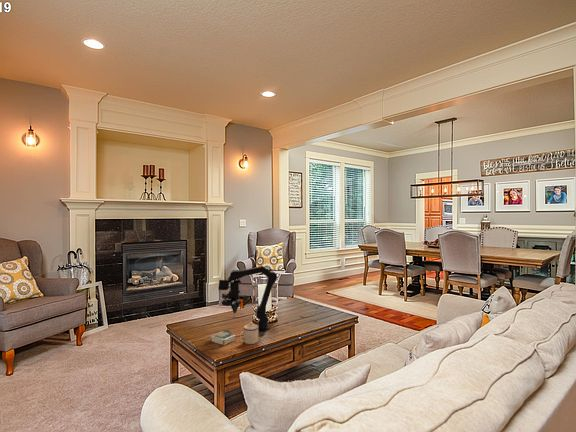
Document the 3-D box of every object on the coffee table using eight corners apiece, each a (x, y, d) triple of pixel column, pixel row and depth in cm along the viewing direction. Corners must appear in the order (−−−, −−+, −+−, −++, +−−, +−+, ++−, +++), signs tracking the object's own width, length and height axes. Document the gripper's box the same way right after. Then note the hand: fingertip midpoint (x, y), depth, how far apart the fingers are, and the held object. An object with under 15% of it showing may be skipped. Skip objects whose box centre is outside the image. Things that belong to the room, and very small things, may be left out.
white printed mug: (254, 337, 206) (254, 319, 206) (261, 342, 199) (261, 323, 199) (236, 341, 200) (236, 322, 200) (243, 346, 192) (243, 326, 192)
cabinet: (224, 337, 207) (223, 329, 207) (231, 339, 204) (230, 331, 204) (214, 341, 201) (214, 333, 201) (221, 343, 197) (221, 335, 197)
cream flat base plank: (222, 336, 209) (222, 331, 209) (235, 339, 203) (235, 335, 203) (210, 341, 201) (210, 336, 201) (224, 345, 195) (224, 340, 195)
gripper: (235, 285, 230) (235, 307, 230) (215, 290, 214) (215, 314, 214) (247, 287, 224) (247, 310, 224) (227, 293, 208) (228, 317, 208)
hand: (234, 313), depth 218 cm, fingers closed
